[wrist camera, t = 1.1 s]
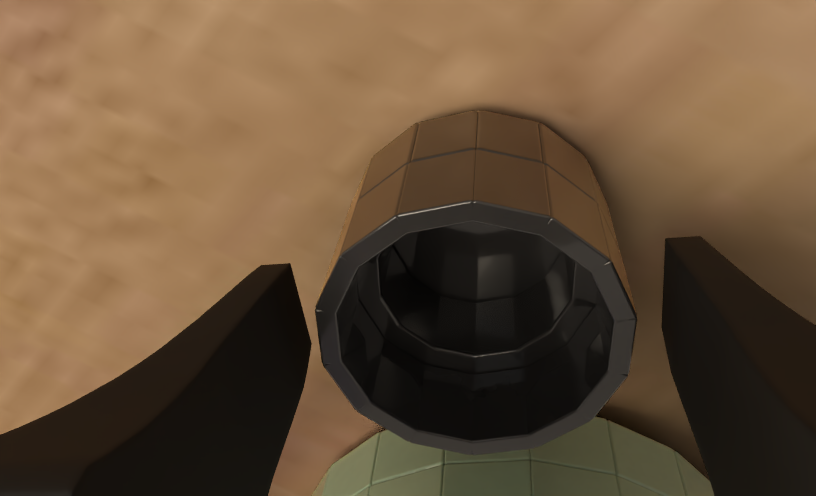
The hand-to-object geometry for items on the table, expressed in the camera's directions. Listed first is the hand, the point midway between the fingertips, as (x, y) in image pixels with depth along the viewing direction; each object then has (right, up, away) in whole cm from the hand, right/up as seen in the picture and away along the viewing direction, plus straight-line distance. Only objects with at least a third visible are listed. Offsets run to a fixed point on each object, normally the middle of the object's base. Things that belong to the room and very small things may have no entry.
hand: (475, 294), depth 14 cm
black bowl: (0, +2, +3) cm, 3 cm away
